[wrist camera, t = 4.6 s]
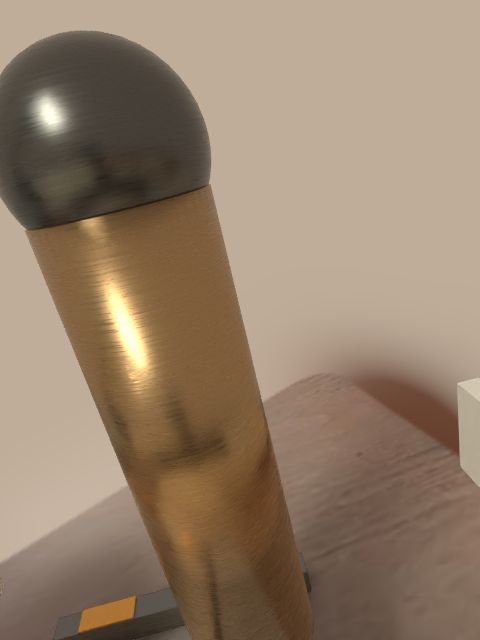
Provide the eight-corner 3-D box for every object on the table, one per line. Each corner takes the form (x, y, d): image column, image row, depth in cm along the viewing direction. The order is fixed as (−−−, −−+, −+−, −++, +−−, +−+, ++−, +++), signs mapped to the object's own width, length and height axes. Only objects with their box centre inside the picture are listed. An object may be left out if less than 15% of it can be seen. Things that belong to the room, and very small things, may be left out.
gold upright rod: (268, 1064, 11) (-612, -190, 2) (228, 618, 22) (50, 106, 14) (424, 1016, 11) (161, -342, 2) (307, 596, 23) (183, 76, 14)
